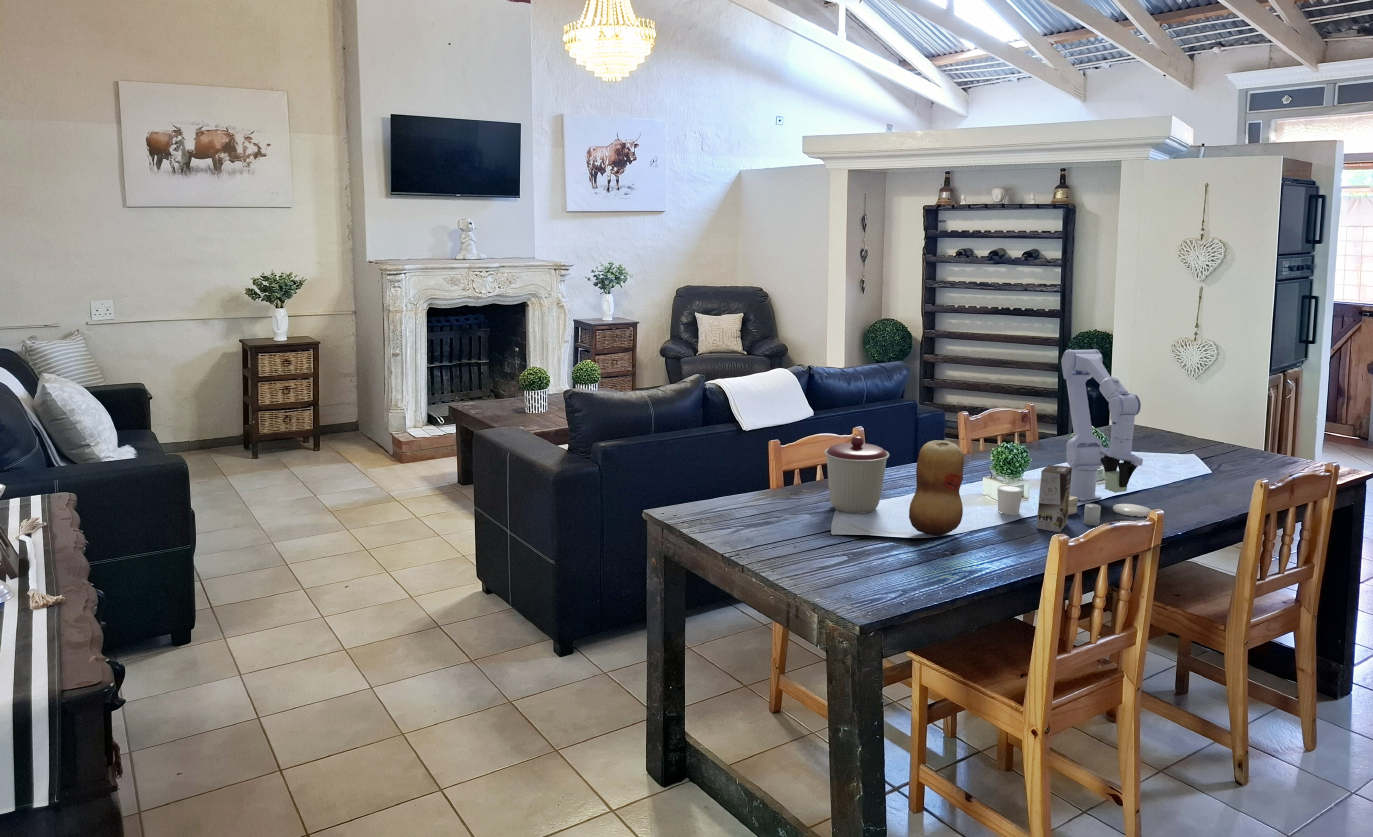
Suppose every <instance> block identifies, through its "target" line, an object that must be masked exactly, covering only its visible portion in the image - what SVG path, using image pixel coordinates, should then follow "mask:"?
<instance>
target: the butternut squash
mask: <svg viewBox="0 0 1373 837" xmlns="http://www.w3.org/2000/svg"><path fill="white" fill-rule="evenodd" d="M917 457H918V458H917V462H916V468H915V475H916V476H915V477H916V478H915V481H916V485H915V486H916V488H915V493H914V495H913V497H912V499H911V502H910V504H909V510H908V519H909V521H910V524H911V526H912V527H913V528H914V529H915V530H916V531H917V532H919V533H922V534H924V535H930V536H933V537H942V536H945V535H947V534H949V533H951V532H953V531H955V530H956V529H957V528H958V527H959V526H960V524H961V522H962V519H963V514H964V508H963V507H964V506H963V501H962V498H961V495H960V489H961V486H962V483H963V480H964V466H965V465H964V464H965V463H964V462H965V461H964V460H965V458H964V452H963V450H962V448H960V447H959V446H958V445H957V444H956V443H953V441H952V442H951V441H949V440H940V439H939V440H931V441H928V442H926V443H924V444H923V446H921V448H920V450H919V453H918V456H917Z"/></svg>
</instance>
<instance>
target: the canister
mask: <svg viewBox="0 0 1373 837" xmlns="http://www.w3.org/2000/svg"><path fill="white" fill-rule="evenodd" d="M864 442H865V440H864V439H863V437H861V436H856V435H855V436H853V437H852V438H851V439H850V442H842V443H841V442H840V443H837V444H833V445H831V446H830V447H828V448H826V449H825V450H824V455H825V456H826V465H827V466H826V467H827V479H828V480H827V481H828V491H829V499H830V503H831V505H832V507H834V509H836V510H838V511H840V512H844V513H848V514H866V513H871V512H873V511H875V510H876V509H877V507H878V505H879V504H880V500H881V496H882V490H883V484H884V478H885V473H886V466H887V465H886V464H887V460H888V459H889V457H890V453H889V451H887V450H885V449H884V448H883V447H881V446H878V445H875V444H870V443H864Z"/></svg>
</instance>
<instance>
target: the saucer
mask: <svg viewBox="0 0 1373 837" xmlns="http://www.w3.org/2000/svg"><path fill="white" fill-rule="evenodd" d="M1112 511H1113V512H1115V513H1116V514H1118V513H1119V515H1122V514H1123V515H1122V516H1126V515H1130V516H1129V517H1133V516H1137V517H1136V518H1145V517H1148V516H1147V514H1148V512H1149V511H1151V512H1152V510H1151V509H1150V508H1149V507H1146V506H1143V505H1140V504H1134V503H1118V504H1117V503H1116V504H1114V505H1113V506H1112ZM1144 516H1145V517H1144Z"/></svg>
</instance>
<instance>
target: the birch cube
mask: <svg viewBox="0 0 1373 837" xmlns="http://www.w3.org/2000/svg"><path fill="white" fill-rule="evenodd" d="M1078 501H1079V500H1078V497H1074V496H1069V507H1068V516H1069V515H1074V514H1076V513H1077V509H1078Z"/></svg>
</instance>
